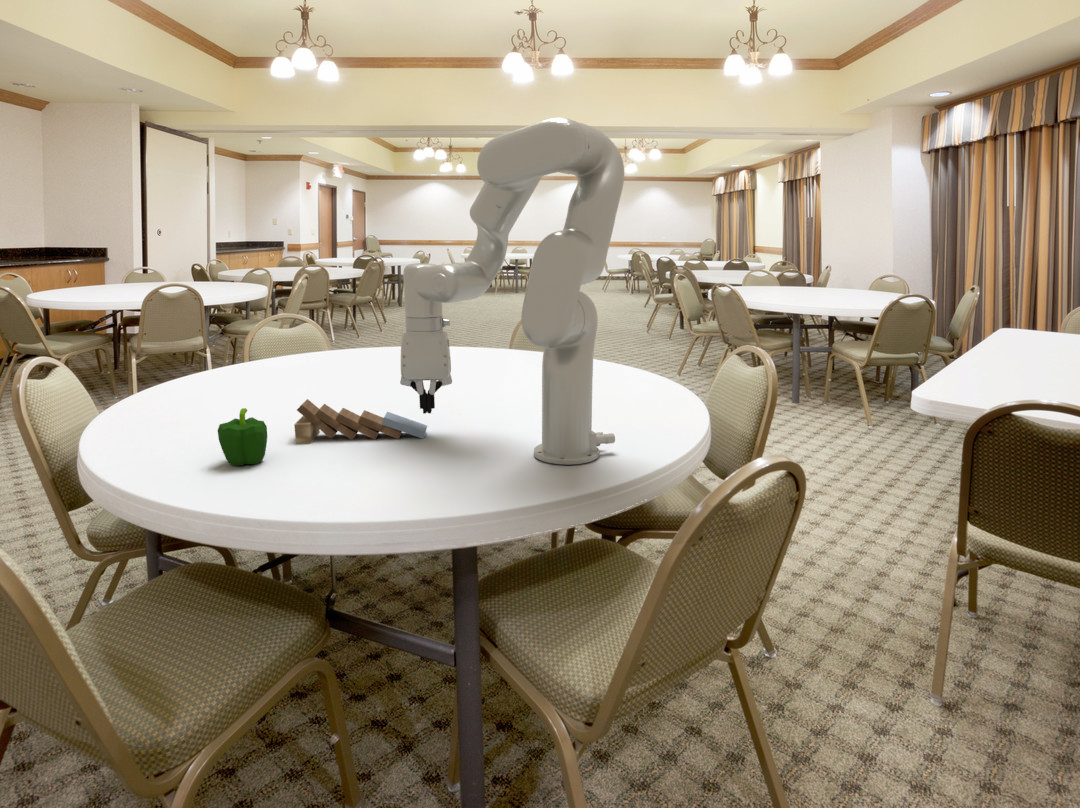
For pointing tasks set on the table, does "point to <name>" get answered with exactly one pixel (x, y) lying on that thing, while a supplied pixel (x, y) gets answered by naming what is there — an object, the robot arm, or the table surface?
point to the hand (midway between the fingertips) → (427, 411)
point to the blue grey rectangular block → (404, 425)
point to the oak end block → (305, 431)
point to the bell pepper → (243, 440)
